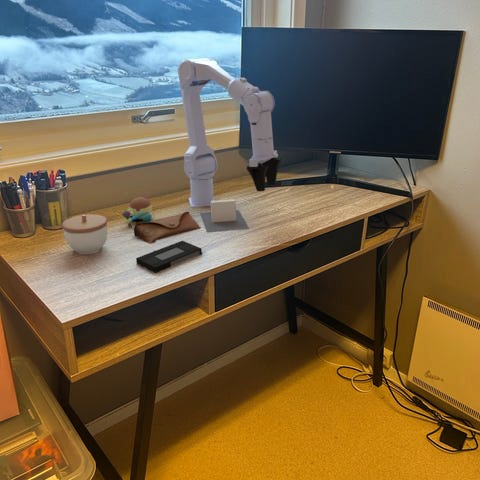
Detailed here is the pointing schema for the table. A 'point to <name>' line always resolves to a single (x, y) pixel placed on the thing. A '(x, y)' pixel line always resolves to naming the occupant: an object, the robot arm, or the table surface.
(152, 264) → the vhs tape
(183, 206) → the table surface
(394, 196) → the table surface
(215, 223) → the mat
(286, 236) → the table surface
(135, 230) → the sunglasses case
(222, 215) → the tile
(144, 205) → the figurine
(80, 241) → the lidded jar
